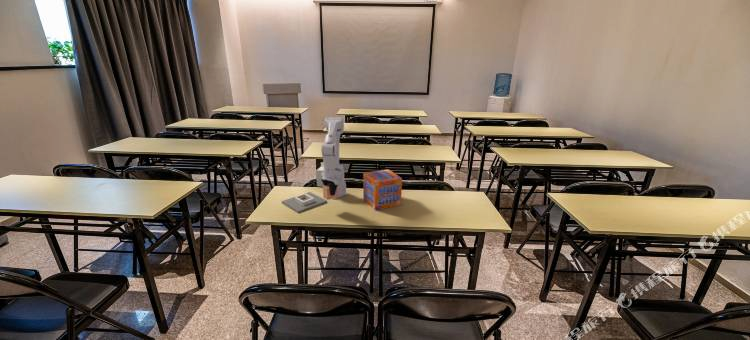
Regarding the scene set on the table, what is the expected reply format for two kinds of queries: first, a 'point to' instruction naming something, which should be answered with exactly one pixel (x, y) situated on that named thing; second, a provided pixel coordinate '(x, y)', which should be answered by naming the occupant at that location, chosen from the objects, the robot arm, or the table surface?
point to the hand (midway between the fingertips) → (330, 193)
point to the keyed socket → (304, 202)
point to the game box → (382, 189)
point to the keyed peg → (327, 193)
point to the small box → (319, 177)
